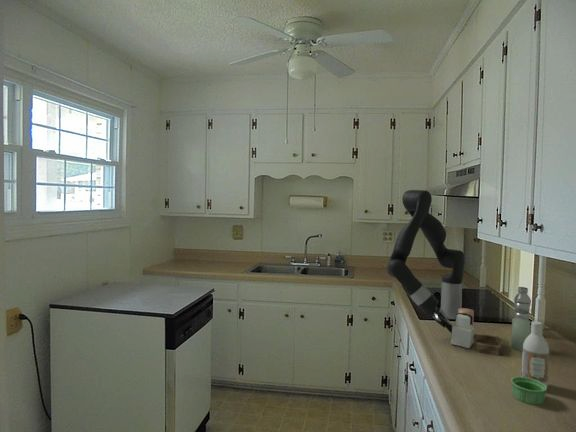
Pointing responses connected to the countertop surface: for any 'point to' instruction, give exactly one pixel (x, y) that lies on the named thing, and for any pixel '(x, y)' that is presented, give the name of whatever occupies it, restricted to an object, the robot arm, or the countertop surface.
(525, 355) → the bath foam
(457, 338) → the medicine bottle
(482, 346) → the corral
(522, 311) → the plastic bottle
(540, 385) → the ramekin
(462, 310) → the terracotta canister
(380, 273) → the countertop surface
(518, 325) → the sage canister
